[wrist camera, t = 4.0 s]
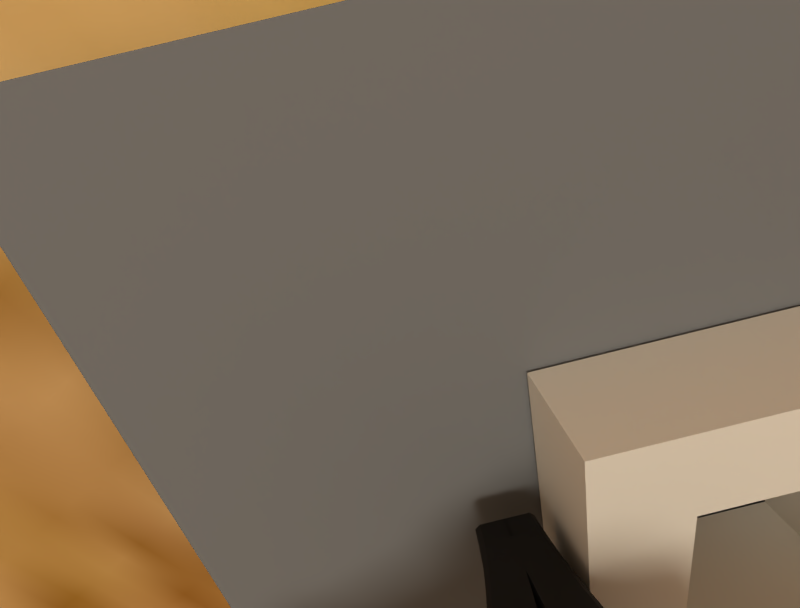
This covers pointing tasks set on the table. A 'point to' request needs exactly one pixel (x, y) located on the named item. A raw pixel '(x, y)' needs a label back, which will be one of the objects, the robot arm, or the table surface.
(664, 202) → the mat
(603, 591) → the beige square frame
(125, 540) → the table surface
